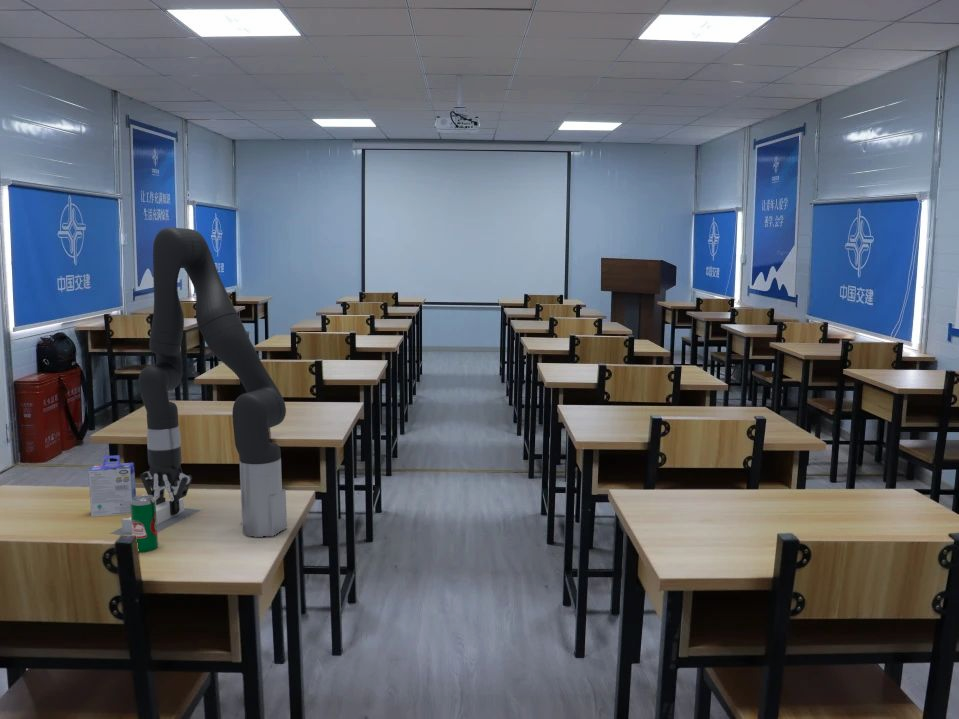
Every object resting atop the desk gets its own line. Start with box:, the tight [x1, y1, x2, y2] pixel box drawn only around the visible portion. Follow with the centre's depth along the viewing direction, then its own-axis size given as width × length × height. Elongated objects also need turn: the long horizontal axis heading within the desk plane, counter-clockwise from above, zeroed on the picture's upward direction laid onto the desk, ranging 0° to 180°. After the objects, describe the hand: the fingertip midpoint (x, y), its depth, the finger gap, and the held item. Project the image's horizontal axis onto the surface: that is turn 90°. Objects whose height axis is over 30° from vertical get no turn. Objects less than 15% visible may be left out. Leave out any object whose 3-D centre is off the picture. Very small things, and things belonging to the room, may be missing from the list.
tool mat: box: [109, 507, 201, 536], centre depth 190 cm, size 10×20×1 cm, turn 163°
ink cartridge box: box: [87, 454, 137, 517], centre depth 197 cm, size 10×6×14 cm, turn 105°
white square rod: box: [121, 498, 185, 534], centre depth 190 cm, size 5×17×3 cm, turn 163°
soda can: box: [130, 494, 159, 553], centre depth 173 cm, size 5×5×12 cm
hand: (168, 513), depth 194 cm, fingers closed on white square rod, 3 cm apart
